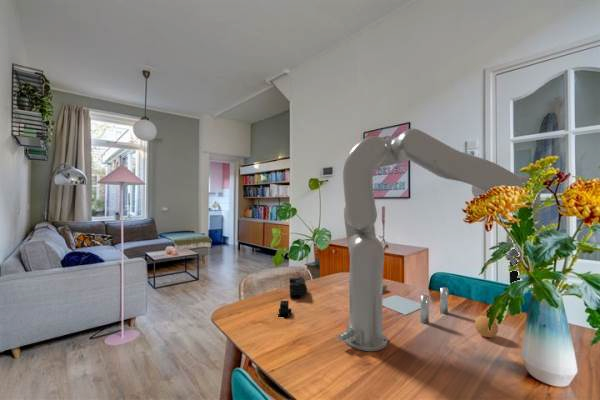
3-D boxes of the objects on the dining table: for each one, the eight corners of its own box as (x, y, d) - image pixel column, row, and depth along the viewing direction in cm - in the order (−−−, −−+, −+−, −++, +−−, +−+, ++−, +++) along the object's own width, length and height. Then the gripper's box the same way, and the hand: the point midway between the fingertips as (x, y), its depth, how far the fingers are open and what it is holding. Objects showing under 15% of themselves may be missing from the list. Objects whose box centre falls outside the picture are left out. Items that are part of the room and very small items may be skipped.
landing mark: (405, 315, 98) (405, 314, 98) (374, 302, 110) (374, 302, 110) (426, 306, 106) (426, 305, 106) (395, 295, 118) (395, 294, 118)
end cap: (307, 299, 114) (307, 283, 113) (290, 299, 113) (290, 283, 113) (305, 290, 123) (305, 276, 123) (289, 291, 123) (289, 276, 123)
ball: (493, 343, 79) (493, 323, 79) (470, 334, 84) (471, 315, 84) (501, 337, 83) (501, 317, 83) (479, 329, 88) (479, 310, 88)
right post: (445, 314, 99) (446, 290, 98) (438, 312, 101) (438, 288, 101) (449, 312, 100) (449, 288, 100) (442, 310, 102) (442, 286, 102)
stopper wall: (359, 299, 113) (359, 293, 113) (356, 297, 115) (356, 291, 115) (386, 290, 124) (386, 285, 124) (383, 289, 125) (383, 283, 125)
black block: (293, 322, 94) (293, 309, 93) (272, 322, 94) (272, 309, 94) (294, 307, 106) (294, 296, 106) (275, 307, 106) (275, 296, 106)
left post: (426, 324, 91) (426, 297, 91) (419, 321, 93) (419, 295, 93) (430, 322, 93) (430, 296, 92) (423, 319, 95) (423, 294, 94)
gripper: (516, 217, 84) (516, 272, 84) (495, 221, 74) (495, 284, 74) (548, 218, 78) (548, 278, 78) (530, 223, 68) (530, 291, 68)
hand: (522, 281), depth 76 cm, fingers open, 9 cm apart
